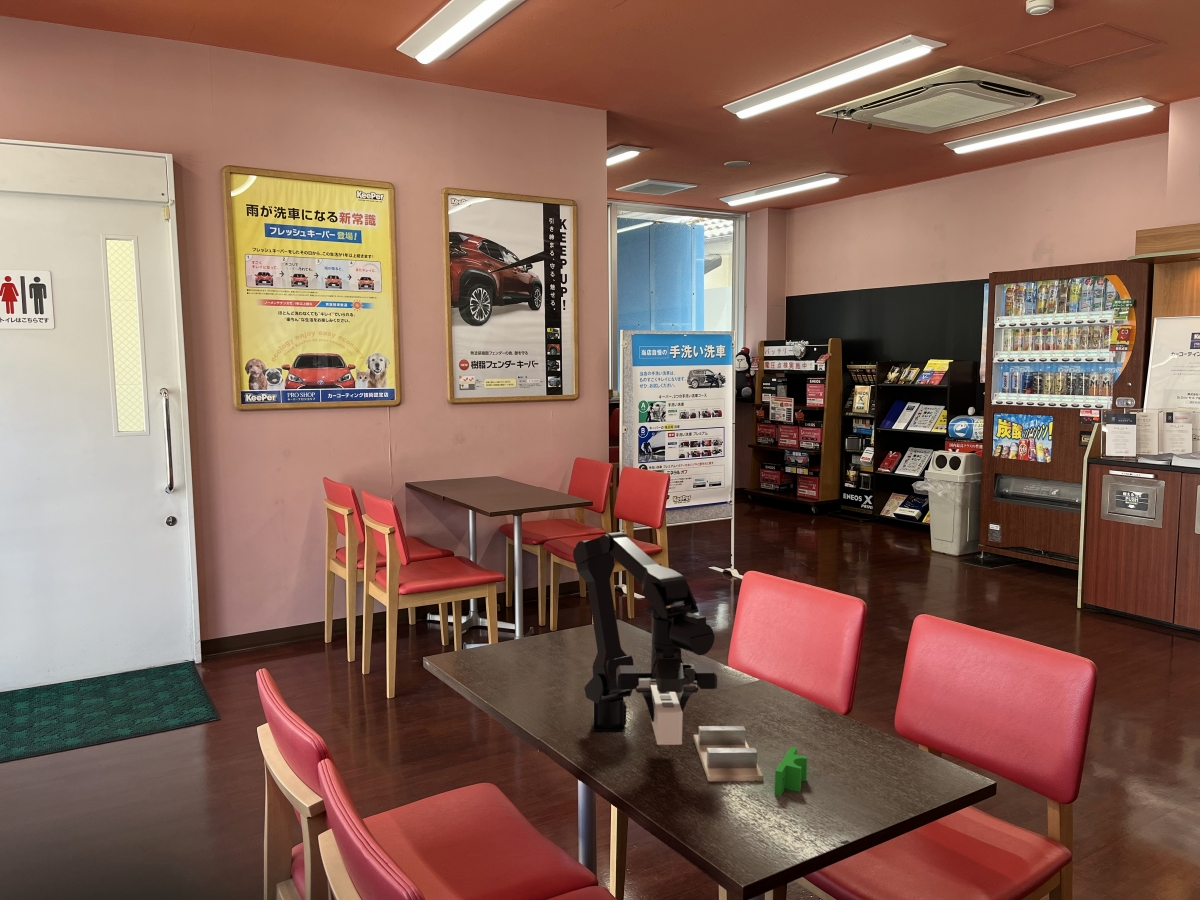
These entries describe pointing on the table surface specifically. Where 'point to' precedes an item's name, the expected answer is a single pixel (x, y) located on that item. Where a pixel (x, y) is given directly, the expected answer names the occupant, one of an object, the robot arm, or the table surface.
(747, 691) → the table surface
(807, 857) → the table surface
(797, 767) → the pipe clamp
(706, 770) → the stand
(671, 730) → the power strip
